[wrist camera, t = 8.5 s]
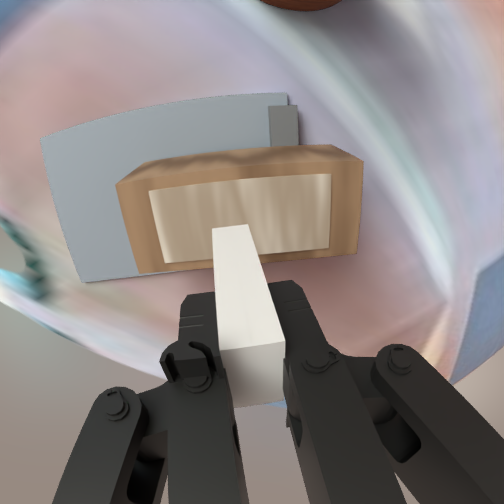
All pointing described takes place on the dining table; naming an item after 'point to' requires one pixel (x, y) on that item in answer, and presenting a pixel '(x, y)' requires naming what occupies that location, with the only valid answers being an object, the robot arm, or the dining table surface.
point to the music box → (302, 4)
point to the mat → (136, 153)
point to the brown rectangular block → (243, 204)
